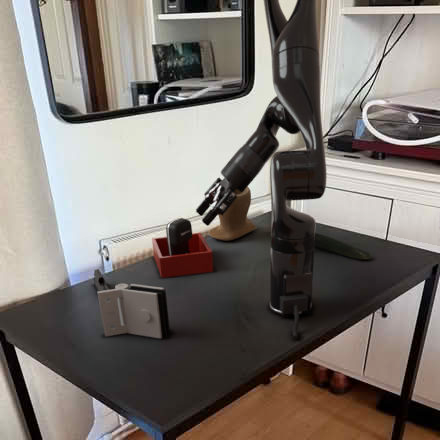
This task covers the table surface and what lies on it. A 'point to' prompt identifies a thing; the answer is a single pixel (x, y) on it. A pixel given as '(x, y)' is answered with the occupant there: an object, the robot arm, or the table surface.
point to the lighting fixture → (100, 282)
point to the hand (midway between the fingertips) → (201, 218)
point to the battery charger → (178, 236)
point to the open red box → (183, 257)
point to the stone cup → (235, 218)
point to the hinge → (135, 310)
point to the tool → (339, 247)
